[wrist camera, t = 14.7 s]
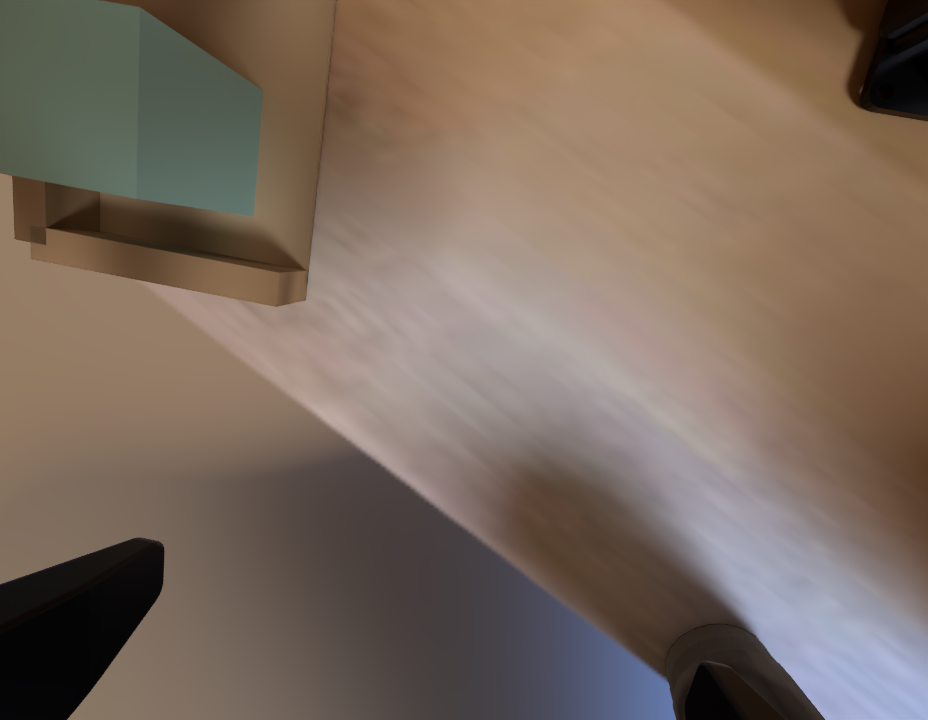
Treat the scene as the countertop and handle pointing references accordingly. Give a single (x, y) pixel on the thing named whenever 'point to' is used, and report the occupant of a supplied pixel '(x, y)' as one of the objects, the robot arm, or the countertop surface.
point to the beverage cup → (735, 669)
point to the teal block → (123, 107)
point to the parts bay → (199, 230)
